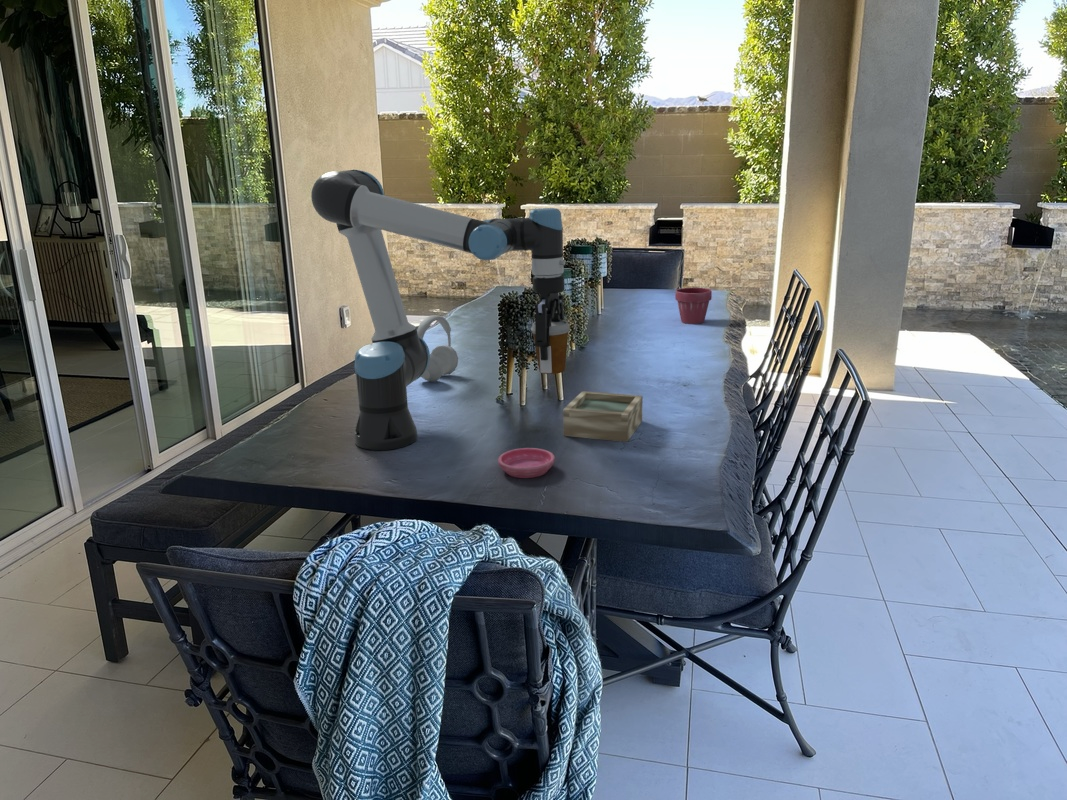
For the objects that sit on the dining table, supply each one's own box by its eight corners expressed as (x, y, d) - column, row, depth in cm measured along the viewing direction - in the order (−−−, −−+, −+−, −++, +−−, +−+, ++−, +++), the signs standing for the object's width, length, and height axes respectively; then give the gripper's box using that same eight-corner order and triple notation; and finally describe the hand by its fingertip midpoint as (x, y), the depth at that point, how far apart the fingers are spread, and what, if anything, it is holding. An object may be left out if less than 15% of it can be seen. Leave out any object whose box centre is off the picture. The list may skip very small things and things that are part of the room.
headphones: (432, 388, 239) (428, 323, 233) (407, 385, 243) (402, 320, 237) (464, 373, 255) (461, 311, 249) (440, 370, 259) (436, 309, 253)
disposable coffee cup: (525, 371, 197) (522, 323, 194) (554, 364, 203) (552, 317, 199) (550, 378, 190) (548, 328, 187) (579, 370, 196) (578, 322, 192)
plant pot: (668, 320, 324) (669, 288, 320) (699, 317, 328) (700, 286, 324) (685, 326, 311) (686, 294, 307) (717, 323, 315) (718, 291, 311)
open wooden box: (627, 442, 191) (627, 415, 189) (563, 435, 196) (563, 409, 194) (642, 421, 205) (642, 395, 203) (582, 415, 211) (582, 391, 209)
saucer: (487, 474, 175) (486, 460, 174) (519, 456, 185) (519, 443, 184) (534, 485, 168) (534, 472, 167) (565, 466, 178) (565, 453, 177)
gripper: (548, 282, 179) (552, 380, 186) (576, 268, 197) (579, 358, 204) (517, 282, 182) (522, 378, 188) (548, 268, 200) (551, 356, 207)
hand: (552, 367), depth 196 cm, fingers closed on disposable coffee cup, 8 cm apart
